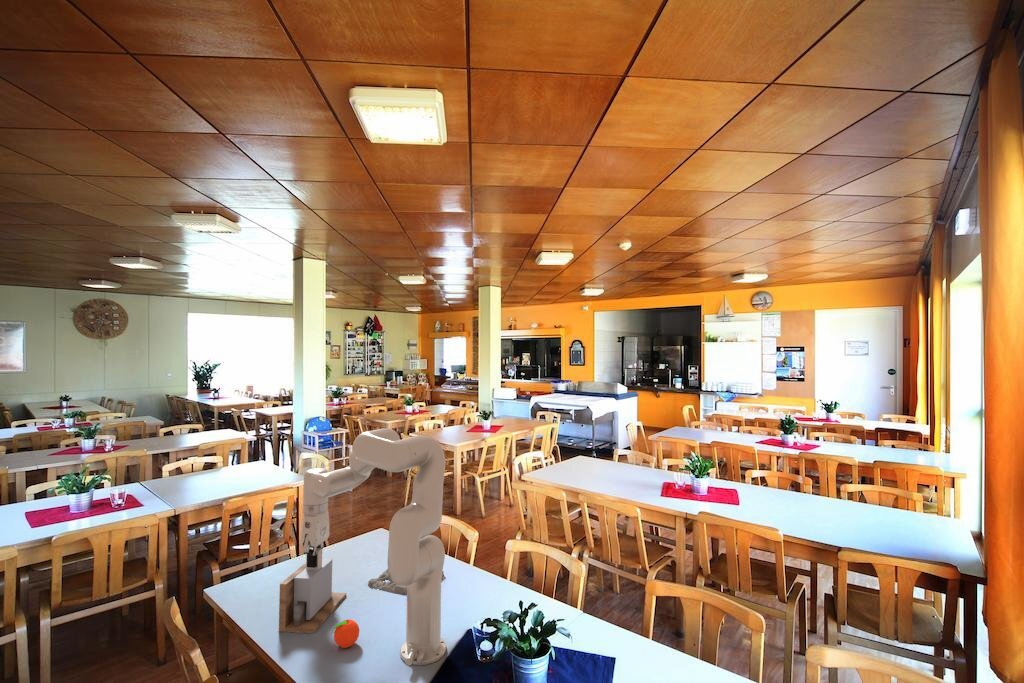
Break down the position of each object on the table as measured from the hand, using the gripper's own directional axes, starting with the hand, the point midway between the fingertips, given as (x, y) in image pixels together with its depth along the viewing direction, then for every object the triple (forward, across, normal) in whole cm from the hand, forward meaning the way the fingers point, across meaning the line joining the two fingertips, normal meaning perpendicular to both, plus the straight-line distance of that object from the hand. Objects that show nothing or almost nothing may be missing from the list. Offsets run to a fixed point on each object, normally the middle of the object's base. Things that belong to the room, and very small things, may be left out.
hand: (314, 564), depth 152 cm
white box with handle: (+14, 0, 0) cm, 14 cm away
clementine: (+16, -16, -18) cm, 29 cm away
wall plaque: (+16, +24, -23) cm, 37 cm away
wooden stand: (+15, 0, 0) cm, 15 cm away
